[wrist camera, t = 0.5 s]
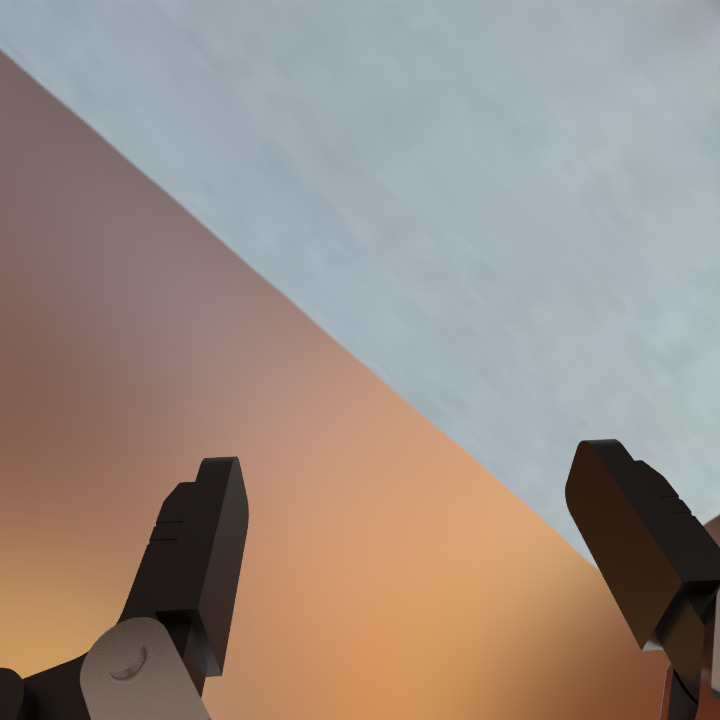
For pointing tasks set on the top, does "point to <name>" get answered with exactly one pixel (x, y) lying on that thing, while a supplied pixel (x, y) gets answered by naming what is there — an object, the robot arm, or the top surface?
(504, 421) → the top surface
